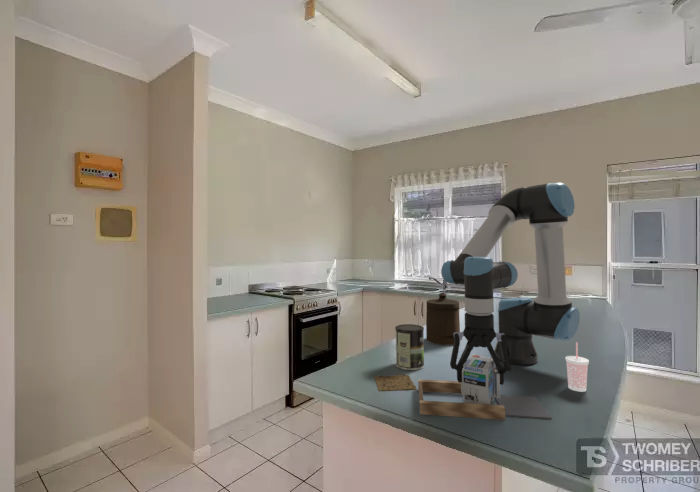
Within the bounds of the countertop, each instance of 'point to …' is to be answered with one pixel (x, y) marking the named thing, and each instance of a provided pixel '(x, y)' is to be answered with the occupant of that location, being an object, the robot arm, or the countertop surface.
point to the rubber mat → (522, 407)
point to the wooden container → (442, 320)
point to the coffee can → (409, 347)
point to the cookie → (394, 383)
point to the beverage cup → (577, 372)
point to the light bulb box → (479, 380)
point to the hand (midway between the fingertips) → (480, 394)
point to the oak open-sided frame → (454, 407)
